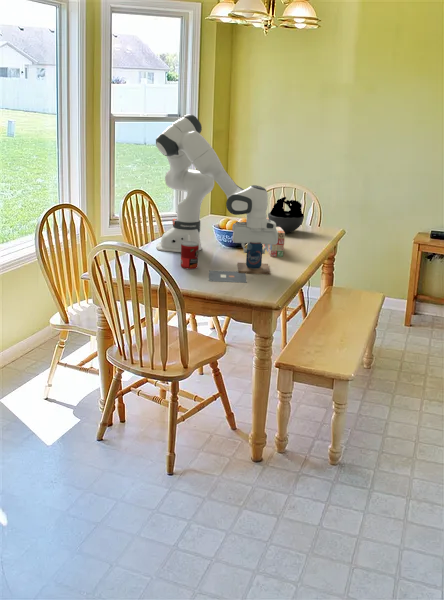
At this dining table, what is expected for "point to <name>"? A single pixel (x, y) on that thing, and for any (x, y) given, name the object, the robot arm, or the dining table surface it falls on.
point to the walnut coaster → (244, 269)
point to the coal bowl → (287, 215)
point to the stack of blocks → (278, 248)
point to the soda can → (254, 255)
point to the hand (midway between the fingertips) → (254, 253)
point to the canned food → (189, 254)
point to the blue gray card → (227, 276)
